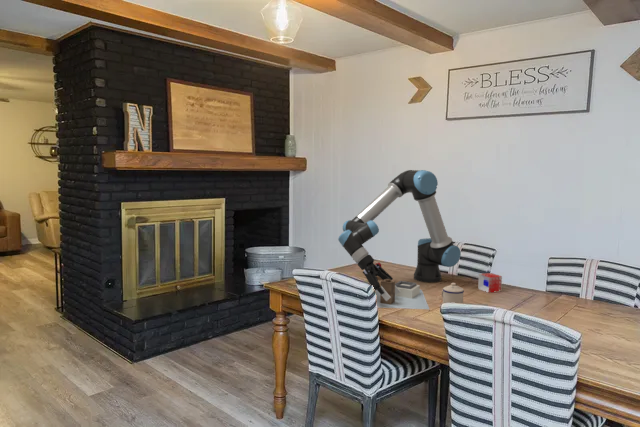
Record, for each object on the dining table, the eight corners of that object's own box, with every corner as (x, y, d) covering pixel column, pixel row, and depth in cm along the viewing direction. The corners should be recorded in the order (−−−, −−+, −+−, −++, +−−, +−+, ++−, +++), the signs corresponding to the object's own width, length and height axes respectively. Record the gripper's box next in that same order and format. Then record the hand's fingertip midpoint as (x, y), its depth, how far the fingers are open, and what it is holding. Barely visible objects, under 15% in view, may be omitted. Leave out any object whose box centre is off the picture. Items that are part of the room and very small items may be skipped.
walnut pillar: (384, 300, 219) (385, 277, 217) (394, 301, 216) (395, 279, 215) (380, 302, 214) (380, 279, 213) (390, 304, 212) (391, 281, 211)
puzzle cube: (501, 291, 238) (501, 276, 237) (488, 292, 235) (489, 277, 234) (490, 287, 245) (491, 272, 245) (478, 288, 243) (478, 273, 242)
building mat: (421, 291, 237) (421, 289, 237) (429, 311, 205) (429, 309, 205) (373, 289, 240) (374, 288, 239) (374, 308, 208) (374, 307, 208)
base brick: (398, 289, 237) (398, 279, 236) (419, 293, 231) (419, 282, 230) (390, 295, 227) (390, 284, 227) (411, 298, 222) (412, 287, 221)
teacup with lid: (467, 310, 207) (468, 284, 205) (451, 313, 203) (452, 286, 202) (449, 303, 218) (450, 278, 216) (433, 305, 214) (434, 280, 213)
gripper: (368, 259, 231) (397, 295, 225) (346, 268, 211) (377, 307, 205) (378, 250, 228) (408, 285, 222) (357, 258, 208) (389, 297, 202)
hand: (393, 296), depth 213 cm, fingers open, 11 cm apart
